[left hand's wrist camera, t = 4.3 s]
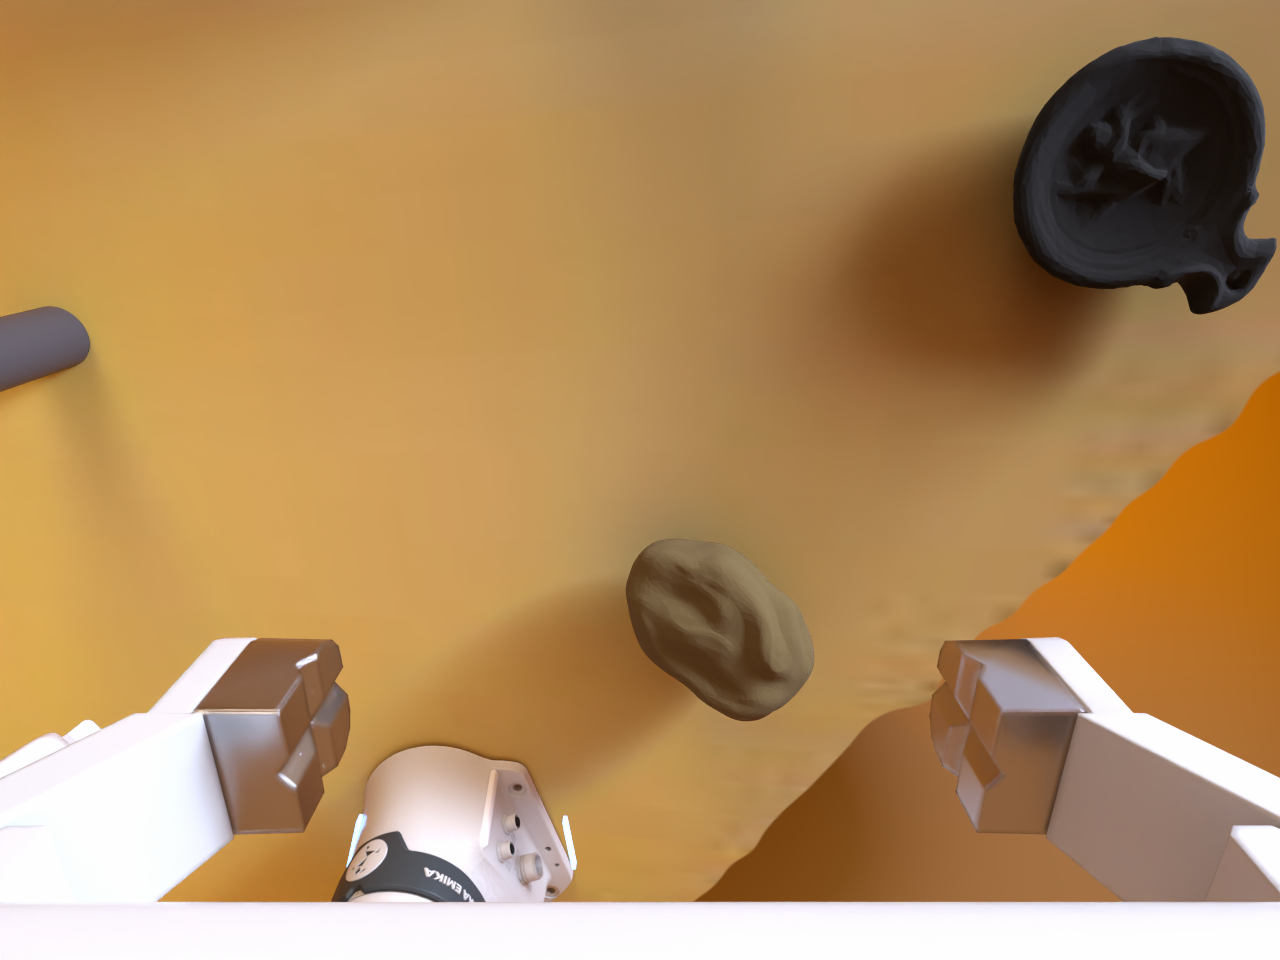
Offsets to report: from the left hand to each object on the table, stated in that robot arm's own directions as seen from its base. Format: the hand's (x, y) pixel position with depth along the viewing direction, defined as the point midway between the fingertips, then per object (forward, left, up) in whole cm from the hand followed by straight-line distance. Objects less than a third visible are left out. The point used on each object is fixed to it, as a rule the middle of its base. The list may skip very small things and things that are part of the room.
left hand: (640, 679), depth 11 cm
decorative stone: (+26, +6, -48) cm, 55 cm away
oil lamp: (-5, +33, -48) cm, 58 cm away
